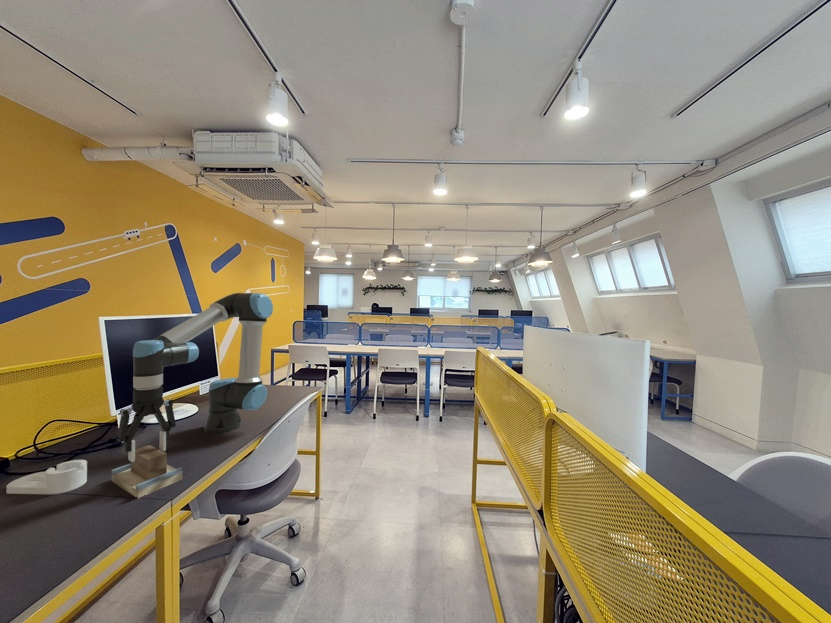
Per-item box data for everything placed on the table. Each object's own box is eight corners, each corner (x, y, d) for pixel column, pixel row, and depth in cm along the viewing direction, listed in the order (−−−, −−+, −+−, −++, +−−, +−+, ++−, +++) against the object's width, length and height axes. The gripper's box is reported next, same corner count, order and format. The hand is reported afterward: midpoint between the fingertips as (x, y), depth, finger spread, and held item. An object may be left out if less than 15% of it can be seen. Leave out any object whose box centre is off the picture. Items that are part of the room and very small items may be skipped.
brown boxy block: (149, 464, 108) (149, 444, 108) (166, 474, 103) (166, 453, 102) (131, 471, 104) (131, 450, 104) (148, 481, 98) (148, 459, 98)
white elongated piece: (94, 479, 103) (94, 459, 103) (65, 495, 94) (65, 474, 94) (34, 478, 103) (34, 458, 103) (-1, 494, 94) (-1, 472, 94)
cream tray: (155, 465, 112) (155, 454, 112) (182, 479, 104) (182, 468, 104) (111, 481, 102) (111, 469, 102) (137, 498, 93) (137, 486, 93)
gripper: (177, 379, 113) (177, 440, 114) (101, 392, 95) (100, 465, 95) (188, 382, 110) (188, 445, 110) (111, 396, 91) (111, 472, 92)
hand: (147, 454), depth 103 cm, fingers open, 8 cm apart
